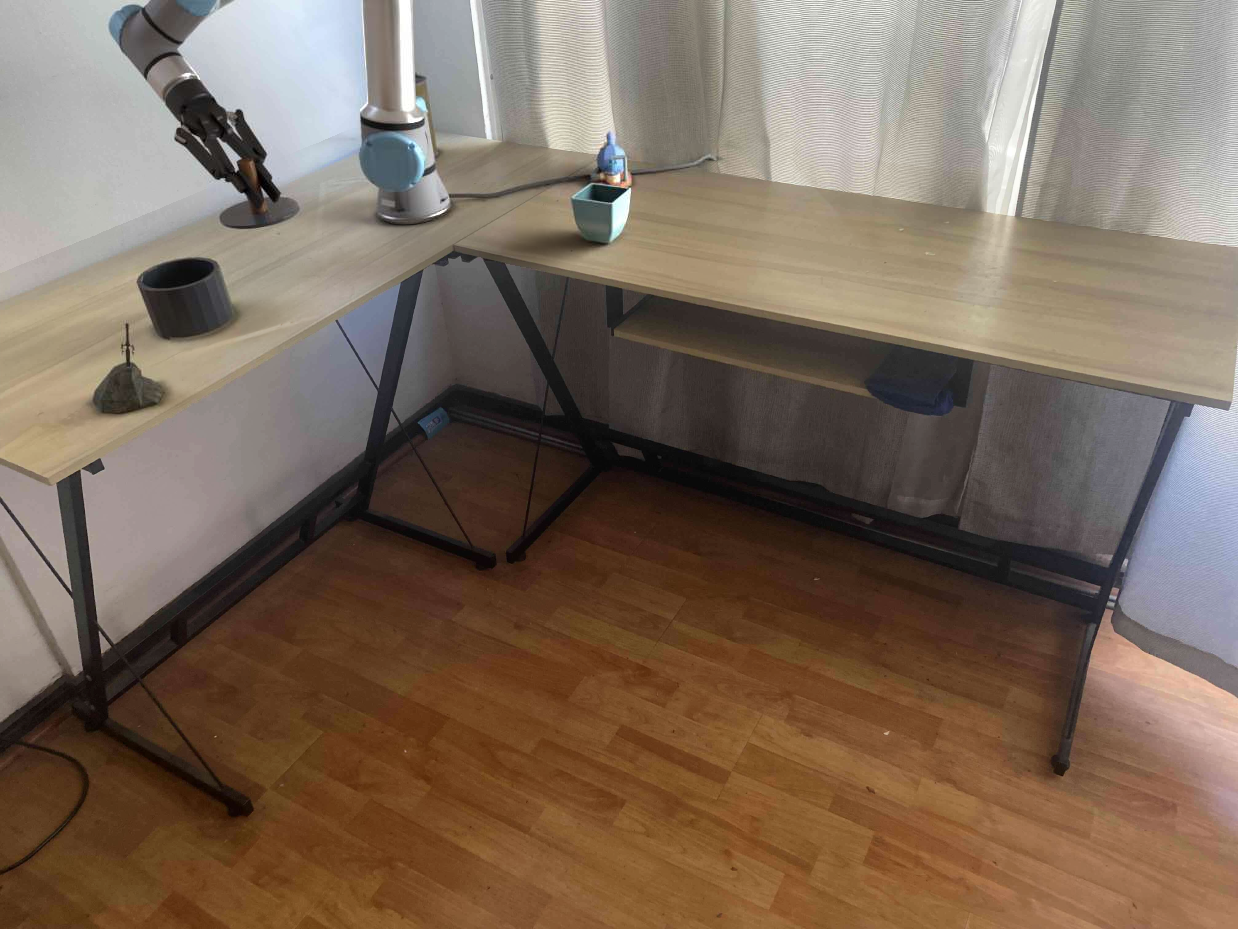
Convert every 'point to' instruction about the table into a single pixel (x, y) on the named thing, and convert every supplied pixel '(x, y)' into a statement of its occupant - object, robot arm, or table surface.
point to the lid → (247, 213)
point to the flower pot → (601, 211)
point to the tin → (185, 297)
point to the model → (611, 165)
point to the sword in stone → (126, 387)
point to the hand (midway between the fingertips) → (269, 201)
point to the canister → (422, 92)
